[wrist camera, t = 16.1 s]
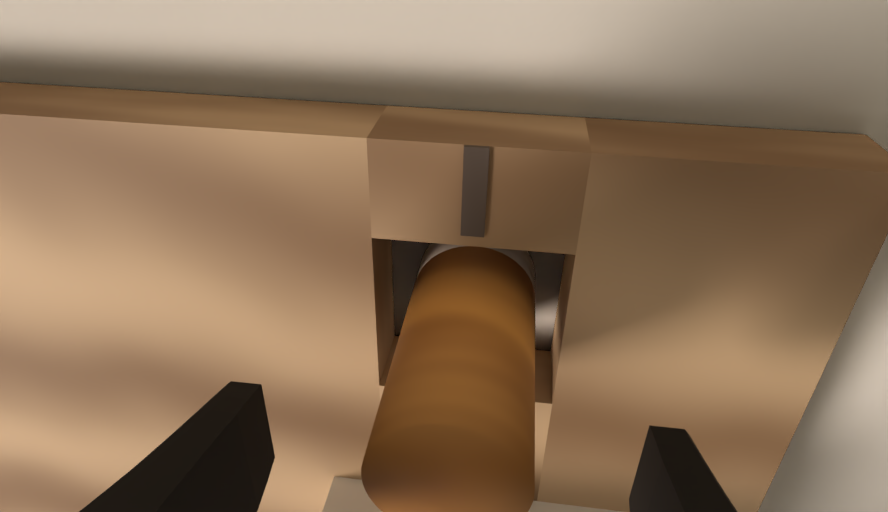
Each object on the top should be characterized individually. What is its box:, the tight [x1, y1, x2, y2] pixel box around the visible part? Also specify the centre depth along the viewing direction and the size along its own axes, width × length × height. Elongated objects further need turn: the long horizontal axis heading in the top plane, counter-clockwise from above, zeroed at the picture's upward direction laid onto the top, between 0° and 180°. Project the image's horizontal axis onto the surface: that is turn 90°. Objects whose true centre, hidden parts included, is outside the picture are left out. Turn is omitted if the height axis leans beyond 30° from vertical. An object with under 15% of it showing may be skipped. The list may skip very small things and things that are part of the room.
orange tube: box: [361, 243, 535, 512], centre depth 13 cm, size 3×3×6 cm
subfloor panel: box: [0, 82, 888, 512], centre depth 18 cm, size 16×28×2 cm, turn 89°
